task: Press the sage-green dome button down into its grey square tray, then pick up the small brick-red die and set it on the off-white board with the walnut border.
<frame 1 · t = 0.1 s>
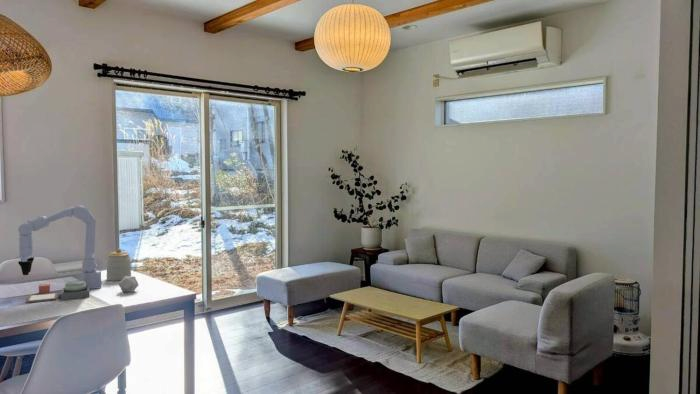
hand: (26, 273, 243), 10 cm above the table, tool pointing down, fingers open, 7 cm apart
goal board: (42, 298, 234), on the table
grey square tray: (75, 295, 241), on the table
small die: (44, 293, 244), on the table
dome: (75, 285, 240), point 5 cm above the table, slide at 0.0 cm
jar: (119, 279, 279), on the table
die: (128, 292, 249), on the table
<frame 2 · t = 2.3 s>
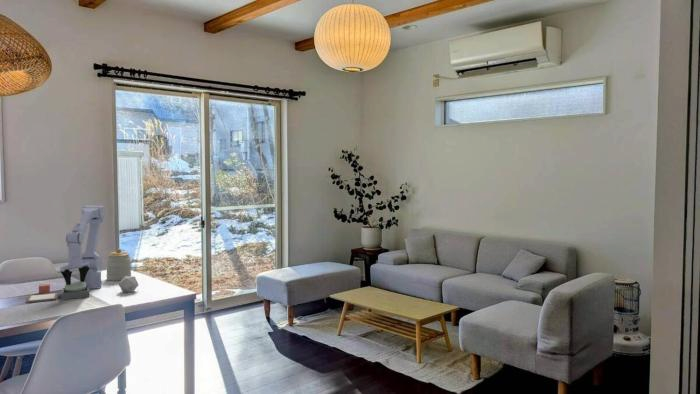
hand: (75, 283, 240), 6 cm above the table, tool pointing down
dome: (75, 286, 240), point 5 cm above the table, slide at 0.3 cm, touching gripper
everything else where it was.
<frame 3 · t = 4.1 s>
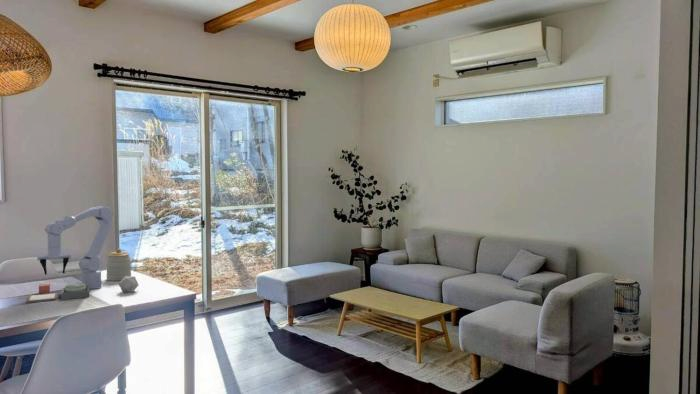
hand: (54, 273, 242), 10 cm above the table, tool pointing down, fingers open, 7 cm apart
dome: (75, 287, 240), point 4 cm above the table, slide at 1.2 cm
everything else where it was.
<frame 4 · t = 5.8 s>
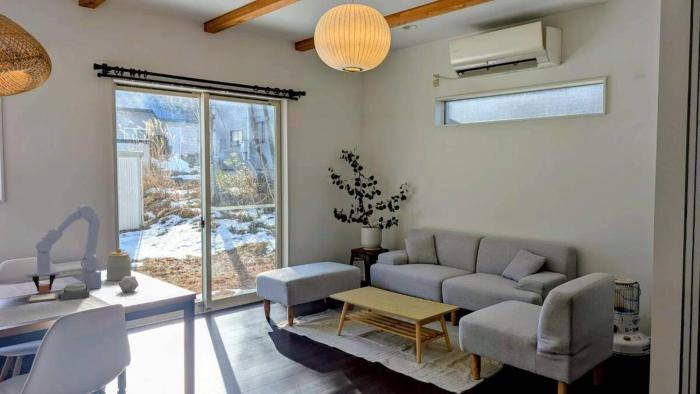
hand: (44, 290, 244), 1 cm above the table, tool pointing down, fingers closed on small die, 4 cm apart
small die: (44, 293, 244), on the table, touching gripper
everything else where it was.
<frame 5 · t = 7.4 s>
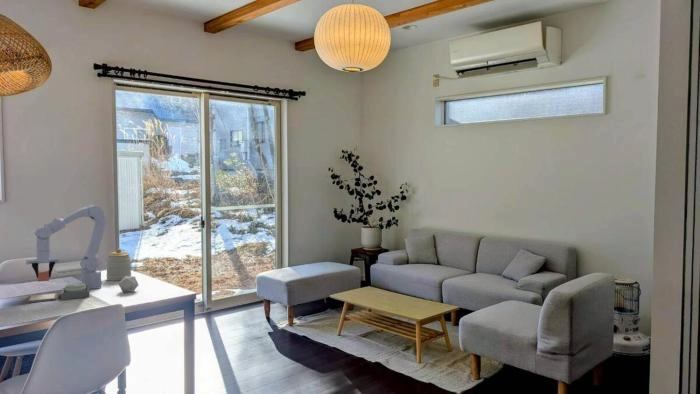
hand: (43, 277, 242), 8 cm above the table, tool pointing down, fingers closed on small die, 4 cm apart
small die: (43, 280, 242), point 7 cm above the table, touching gripper
everything else where it was.
when the fingers open (4 cm above the table, at t = 9.3 s): small die drops 1 cm, resting on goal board.
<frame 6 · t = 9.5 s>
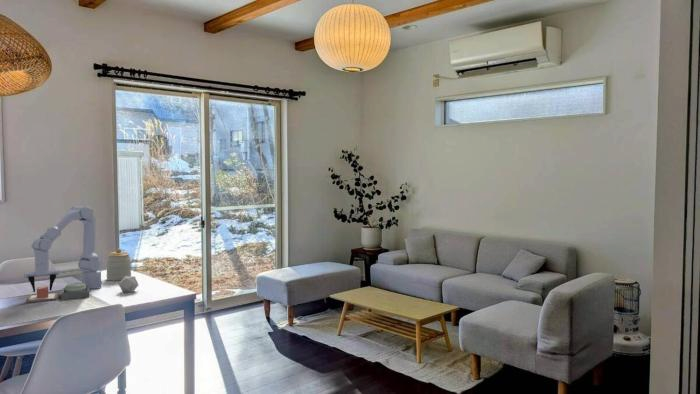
hand: (42, 290, 234), 4 cm above the table, tool pointing down, fingers open, 6 cm apart
small die: (42, 296, 234), point 1 cm above the table, touching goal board
everything else where it was.
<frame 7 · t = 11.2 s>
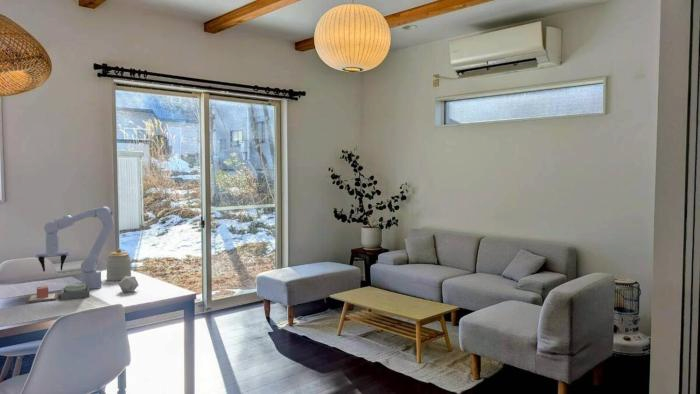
hand: (52, 270, 250), 10 cm above the table, tool pointing down, fingers open, 7 cm apart
nothing on the table moved.
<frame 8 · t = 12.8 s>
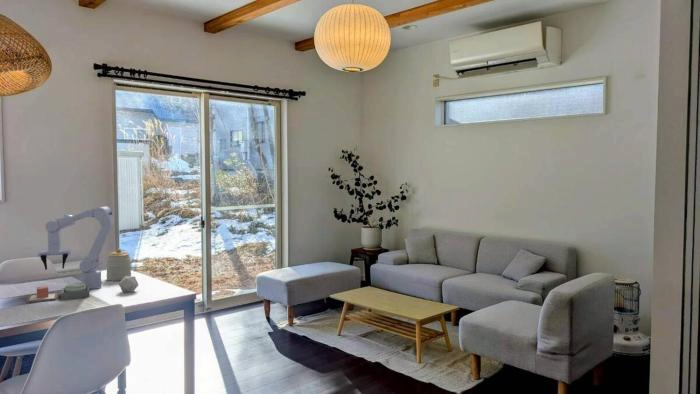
hand: (54, 268, 254), 10 cm above the table, tool pointing down, fingers open, 7 cm apart
nothing on the table moved.
at the end: dome slide at 1.2 cm; small die inside the target area on the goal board (0.2 cm from its centre), point 0.8 cm above the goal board's base; small die tilted 0° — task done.
